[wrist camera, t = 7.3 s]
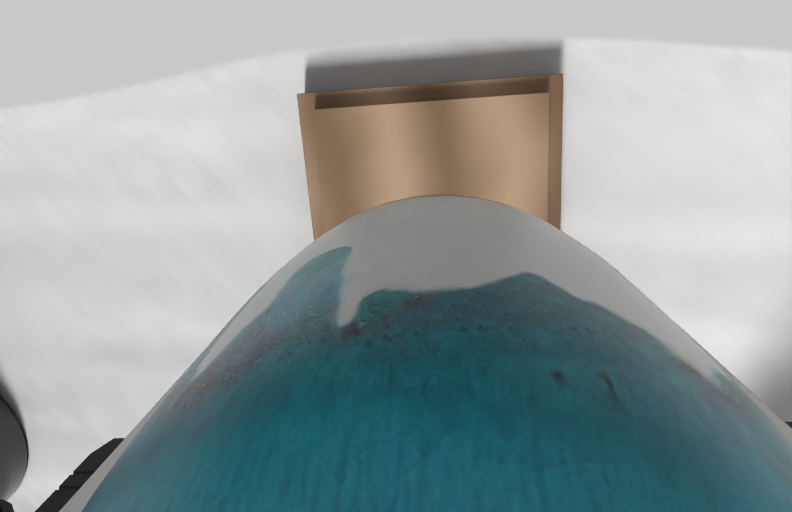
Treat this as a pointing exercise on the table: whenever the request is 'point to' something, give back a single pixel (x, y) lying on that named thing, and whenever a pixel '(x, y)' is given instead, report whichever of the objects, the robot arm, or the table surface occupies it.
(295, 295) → the vase
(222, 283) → the table surface
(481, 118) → the pedestal
